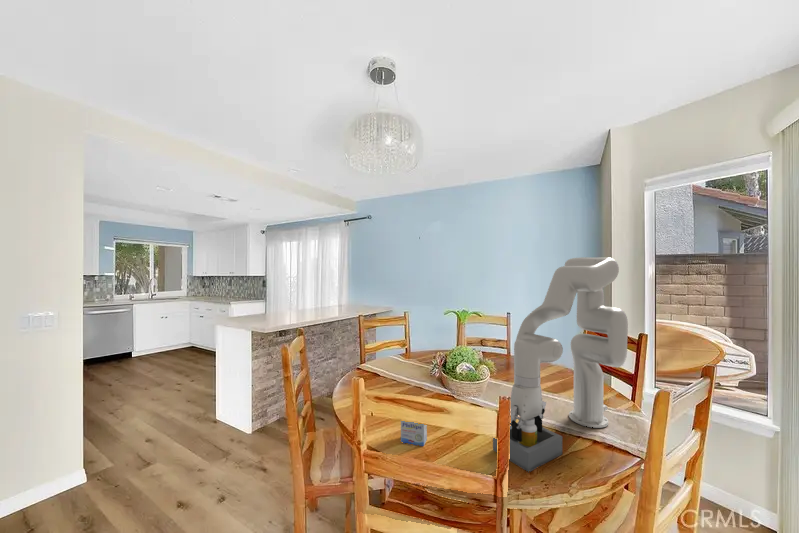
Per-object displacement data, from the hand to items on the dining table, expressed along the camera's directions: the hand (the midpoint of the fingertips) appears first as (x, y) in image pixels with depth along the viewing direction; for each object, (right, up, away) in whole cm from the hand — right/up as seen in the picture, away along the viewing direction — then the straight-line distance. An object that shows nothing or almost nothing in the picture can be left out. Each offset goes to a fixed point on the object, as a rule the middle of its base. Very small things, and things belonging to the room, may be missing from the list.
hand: (527, 435), depth 102 cm
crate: (0, -5, 0) cm, 5 cm away
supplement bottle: (0, -5, 0) cm, 5 cm away
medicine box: (-35, -6, +7) cm, 36 cm away
